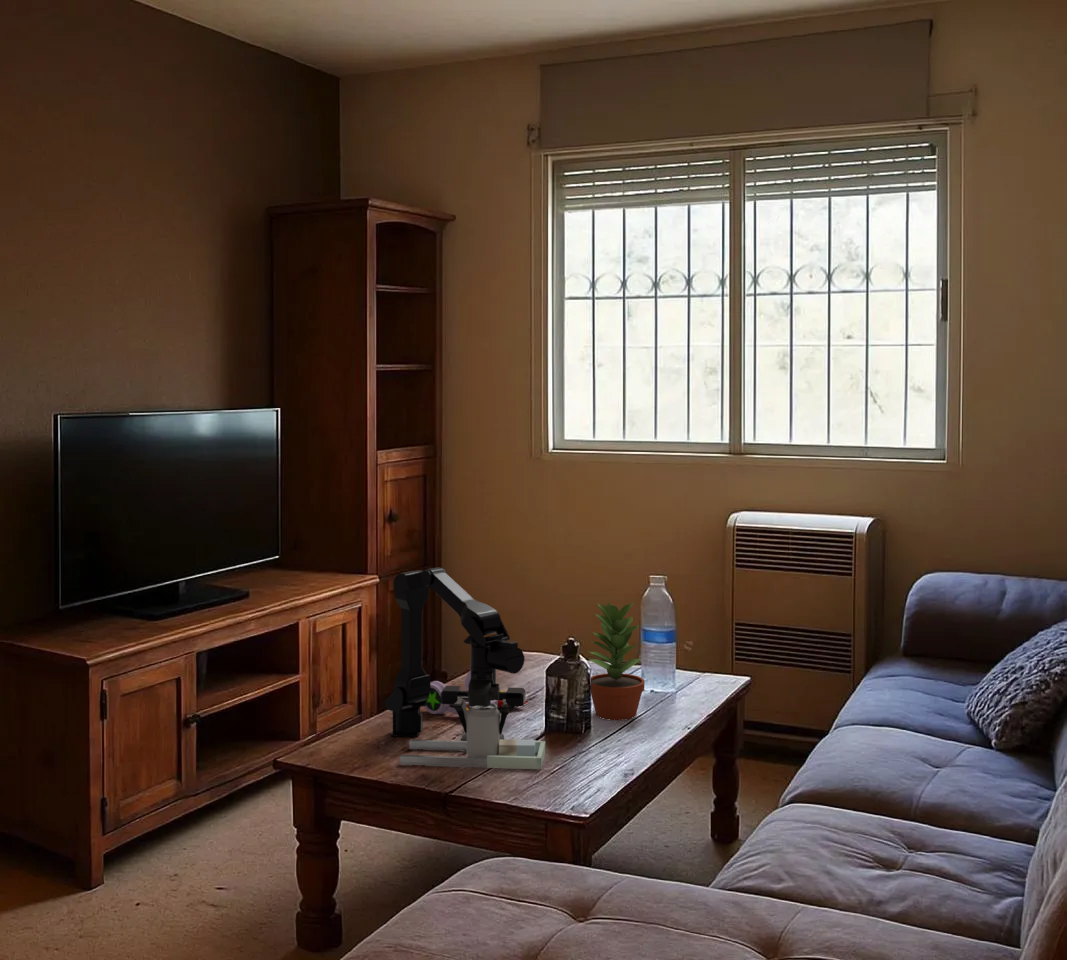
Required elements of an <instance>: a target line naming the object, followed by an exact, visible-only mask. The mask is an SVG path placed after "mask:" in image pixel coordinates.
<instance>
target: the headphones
mask: <svg viewBox="0 0 1067 960" xmlns="http://www.w3.org/2000/svg"><path fill="white" fill-rule="evenodd" d="M470 680H471V669H470V670H469V671H468V672H467V673H466V676H465V679H464V688H465V691H468V689H469V682H470ZM430 686H431V691H430V694H429V697H428V699H427V703H426V706H423V707H424V709H425V711H427V712H428V713H429V714H432V715H443V714H445V713H447V712H449V713H452V714H455V715H458V713H457V711H456V710H455V709H454V708H451V707H450V706H449V705H450V704H441V703H440V695H441V692H442V690H443V688H444V687H445V686H446V684H445V683H443V682H441V681H439V680H433V681H431V682H430ZM500 692H507V690H505V691H504V690H502V689H500ZM491 703H494V704H496V705H497V709H498V710H499V708H502V705H503V700H494V701H491ZM527 703H528V701H526V700H525V703H524V705H525V704H527ZM469 709H470V706H469V702H468V701H466V711H468V710H469Z"/></svg>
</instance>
